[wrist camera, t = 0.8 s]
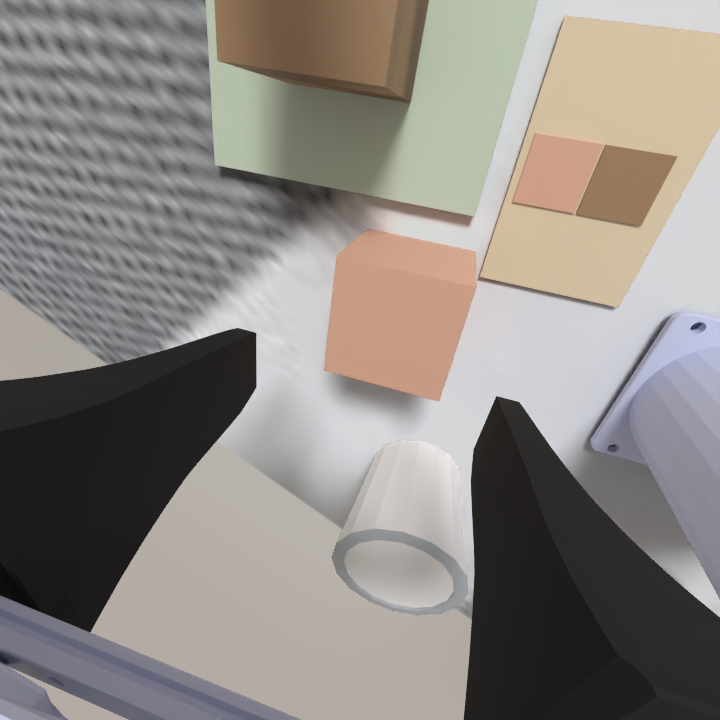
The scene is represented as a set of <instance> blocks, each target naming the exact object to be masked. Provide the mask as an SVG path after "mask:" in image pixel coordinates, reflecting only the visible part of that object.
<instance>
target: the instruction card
mask: <svg viewBox="0 0 720 720" xmlns="http://www.w3.org/2000/svg"><path fill="white" fill-rule="evenodd" d="M719 127H720V34H717V33H708V32H700V31H692V30H683V29H675V28H667V27H658V26H650V25H641V24H633V23H625V22H616V21H608V20H600V19H591V18H583V17H575V16H566V15H565V17H564V19H563V22H562V25H561V28H560V31H559V35H558V38H557V41H556V44H555V47H554V50H553V53H552V56H551V59H550V62H549V65H548V68H547V71H546V74H545V77H544V80H543V83H542V87H541V90H540V93H539V96H538V99H537V102H536V105H535V108H534V111H533V114H532V117H531V120H530V123H529V126H528V129H527V132H526V135H525V139H524V142H523V145H522V148H521V151H520V154H519V157H518V160H517V163H516V166H515V169H514V172H513V175H512V178H511V181H510V184H509V187H508V190H507V194H506V197H505V200H504V203H503V206H502V209H501V212H500V215H499V218H498V221H497V224H496V227H495V230H494V233H493V236H492V239H491V242H490V246H489V249H488V252H487V255H486V258H485V261H484V264H483V267H482V270H481V273H480V277H483V278H487V279H492V280H496V281H501V282H505V283H510V284H514V285H519V286H523V287H528V288H533V289H537V290H542V291H546V292H551V293H555V294H560V295H564V296H569V297H573V298H578V299H582V300H587V301H591V302H596V303H600V304H605V305H609V306H614V307H618V308H619V306H620V304H621V302H622V301H623V299H624V297H625V295H626V293H627V292H628V290H629V288H630V286H631V284H632V283H633V281H634V279H635V277H636V276H637V274H638V272H639V270H640V268H641V267H642V265H643V263H644V261H645V259H646V258H647V256H648V254H649V252H650V250H651V249H652V247H653V245H654V243H655V242H656V240H657V238H658V236H659V234H660V233H661V231H662V229H663V227H664V225H665V224H666V222H667V220H668V218H669V217H670V215H671V213H672V211H673V209H674V208H675V206H676V204H677V202H678V200H679V199H680V197H681V195H682V193H683V192H684V190H685V188H686V186H687V184H688V183H689V181H690V179H691V177H692V175H693V174H694V172H695V170H696V168H697V167H698V165H699V163H700V161H701V159H702V158H703V156H704V154H705V152H706V150H707V149H708V147H709V145H710V143H711V141H712V140H713V138H714V136H715V134H716V133H717V131H718V129H719Z"/></svg>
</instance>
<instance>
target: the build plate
mask: <svg viewBox="0 0 720 720" xmlns="http://www.w3.org/2000/svg"><path fill="white" fill-rule="evenodd" d="M537 2H538V0H429V3H428V9H427V15H426V20H425V26H424V31H423V37H422V43H421V48H420V54H419V59H418V65H417V70H416V76H415V82H414V87H413V93H412V98H411V103H409V102H402V101H396V100H390V99H384V98H377V97H371V96H365V95H359V94H352V93H346V92H340V91H334V90H327V89H321V88H315V87H309V86H303V85H296V84H290V83H286V82H283V81H280V80H277V79H273V78H270V77H267V76H264V75H261V74H258V73H254V72H251V71H248V70H245V69H242V68H239V67H235V66H232V65H229V64H226V63H223V62H220V61H217V45H216V24H215V3H214V0H206V14H207V32H208V49H209V67H210V85H211V103H212V120H213V138H214V156H215V165H218V166H223V167H228V168H233V169H238V170H243V171H248V172H253V173H258V174H263V175H268V176H273V177H278V178H283V179H288V180H293V181H298V182H303V183H308V184H313V185H318V186H324V187H329V188H334V189H339V190H344V191H349V192H354V193H359V194H364V195H369V196H374V197H379V198H384V199H389V200H394V201H399V202H404V203H409V204H414V205H419V206H424V207H429V208H434V209H439V210H444V211H449V212H454V213H459V214H464V215H469V216H474V217H475V213H476V210H477V207H478V203H479V200H480V196H481V193H482V190H483V186H484V183H485V179H486V176H487V173H488V169H489V166H490V162H491V159H492V156H493V152H494V149H495V145H496V142H497V139H498V135H499V132H500V128H501V125H502V122H503V118H504V115H505V111H506V108H507V105H508V101H509V98H510V94H511V91H512V87H513V84H514V81H515V77H516V74H517V70H518V67H519V64H520V60H521V57H522V53H523V50H524V47H525V43H526V40H527V36H528V33H529V30H530V26H531V23H532V19H533V16H534V13H535V9H536V6H537Z"/></svg>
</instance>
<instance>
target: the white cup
mask: <svg viewBox="0 0 720 720" xmlns="http://www.w3.org/2000/svg"><path fill="white" fill-rule="evenodd" d="M332 559H333V562H334V566H335V569H336V572H337V574H338V575H339V576H340V577H341V578H342V579H343V581H344V582H345V583H346V584H347V585H348V587H349V588H350V589H352V590H353V591H355V592H356V593H358V594H359V595H361V596H362V597H364V598H365V599H367V600H368V601H370V602H372V603H375V604H378V605H380V606H382V607H385V608H388V609H390V610H392V611H398V612H403V613H409V614H414V615H427V614H441V613H444V612H446V611H449V610H451V609H454V608H456V607H458V606H459V605H460V604H461V602H462V601H463V600H464V598H465V597H466V596H467V595H468V584H467V569H466V557H465V545H464V533H463V520H462V508H461V496H460V484H459V471H458V468H457V467H456V465H455V463H454V462H453V460H452V458H451V457H450V456H449V455H447V454H446V453H445V452H443V451H442V450H441V449H439V448H438V447H437V446H434V445H431V444H428V443H425V442H422V441H417V440H400V441H396V442H393V443H390V444H387V445H386V446H384V447H383V448H382V449H381V450H380V451H379V452H377V454H376V456H375V458H374V460H373V463H372V465H371V467H370V469H369V472H368V474H367V476H366V478H365V480H364V483H363V485H362V487H361V489H360V492H359V494H358V496H357V498H356V501H355V503H354V505H353V507H352V510H351V512H350V514H349V516H348V518H347V521H346V523H345V525H344V527H343V530H342V532H341V534H340V536H339V539H338V541H337V543H336V546H335V549H334V552H333V555H332Z"/></svg>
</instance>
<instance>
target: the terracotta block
mask: <svg viewBox="0 0 720 720" xmlns="http://www.w3.org/2000/svg"><path fill="white" fill-rule="evenodd" d="M476 287H477V284H476V252H475V251H471V250H466V249H462V248H457V247H452V246H447V245H443V244H438V243H433V242H429V241H424V240H419V239H414V238H410V237H405V236H400V235H396V234H391V233H386V232H381V231H377V230H372V229H368V230H366V231H365V232H364V233H363V234H362V235H361V236H359V237H358V238H357V239H356V240H355V241H353V242H352V243H351V244H350V245H349V246H347V247H346V248H345V249H344V250H343V251H342V252H340V253H339V254H338V255H337V258H336V267H335V275H334V284H333V293H332V302H331V311H330V320H329V329H328V338H327V347H326V356H325V365H324V370H325V371H328V372H332V373H336V374H339V375H343V376H347V377H350V378H354V379H358V380H362V381H365V382H369V383H373V384H376V385H380V386H384V387H387V388H391V389H395V390H398V391H402V392H406V393H410V394H413V395H417V396H421V397H424V398H428V399H432V400H435V401H439V400H440V397H441V394H442V391H443V388H444V385H445V382H446V379H447V376H448V373H449V370H450V367H451V363H452V360H453V357H454V354H455V351H456V348H457V345H458V342H459V339H460V336H461V333H462V330H463V327H464V324H465V321H466V318H467V315H468V312H469V309H470V306H471V302H472V299H473V296H474V293H475V290H476Z"/></svg>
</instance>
